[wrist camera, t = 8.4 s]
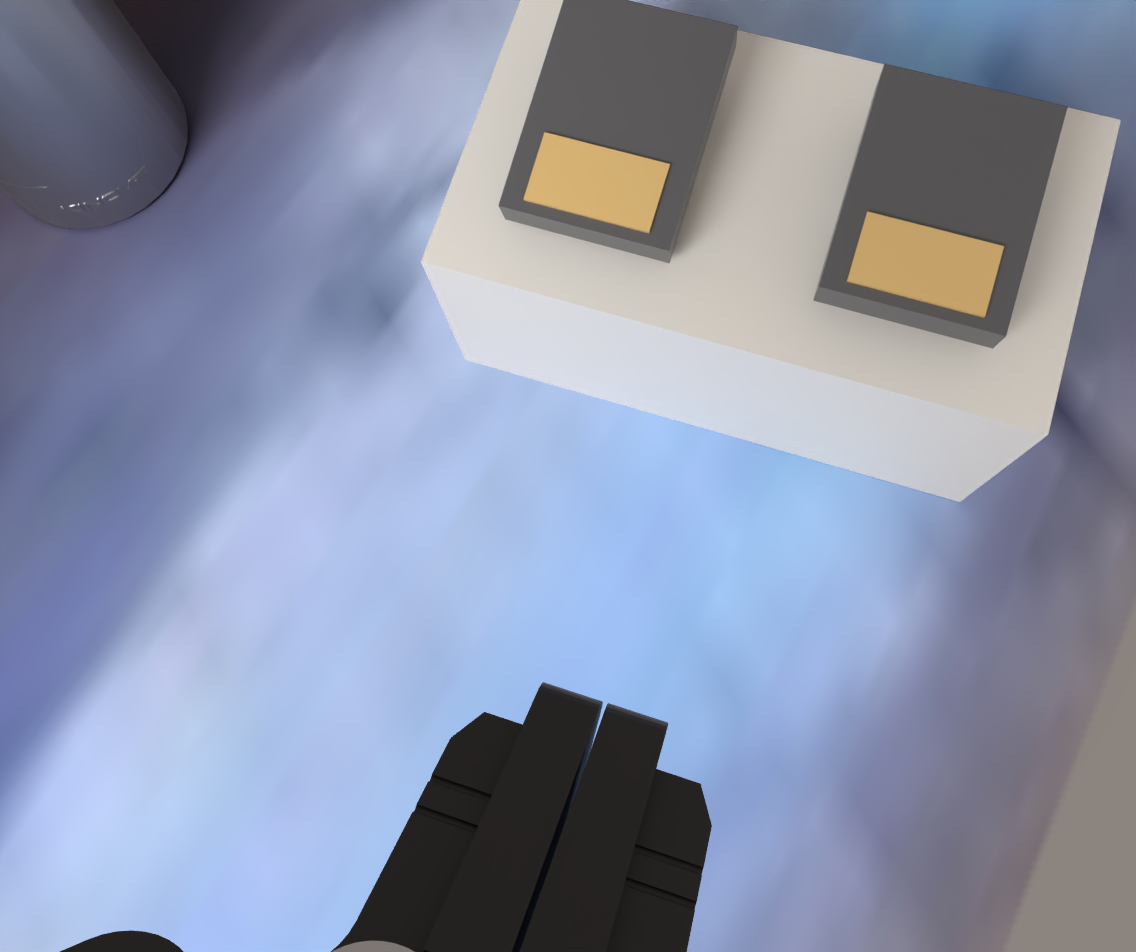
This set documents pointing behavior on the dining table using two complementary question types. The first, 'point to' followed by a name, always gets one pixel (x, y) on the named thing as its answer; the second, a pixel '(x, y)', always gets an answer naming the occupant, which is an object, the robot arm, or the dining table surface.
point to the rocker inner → (619, 124)
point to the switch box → (762, 283)
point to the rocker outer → (941, 205)
